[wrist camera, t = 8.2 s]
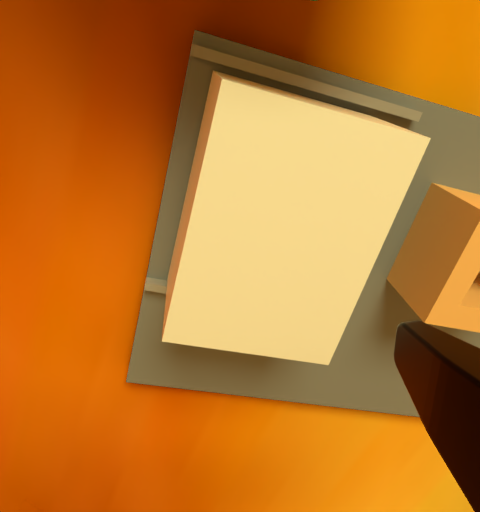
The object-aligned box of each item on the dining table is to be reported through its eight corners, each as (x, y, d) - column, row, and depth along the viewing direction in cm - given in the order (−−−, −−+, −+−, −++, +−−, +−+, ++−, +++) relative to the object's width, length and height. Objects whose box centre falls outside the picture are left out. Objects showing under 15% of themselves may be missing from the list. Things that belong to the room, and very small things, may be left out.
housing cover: (369, 115, 18) (430, 138, 13) (299, 299, 22) (328, 365, 17) (213, 69, 17) (222, 78, 12) (167, 276, 20) (161, 341, 16)
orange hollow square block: (523, 205, 21) (592, 238, 17) (472, 295, 23) (523, 340, 20) (431, 182, 20) (484, 211, 16) (386, 278, 22) (424, 323, 18)
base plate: (594, 152, 21) (656, 169, 19) (436, 406, 29) (463, 445, 26) (194, 31, 17) (195, 27, 14) (128, 367, 24) (120, 409, 21)
